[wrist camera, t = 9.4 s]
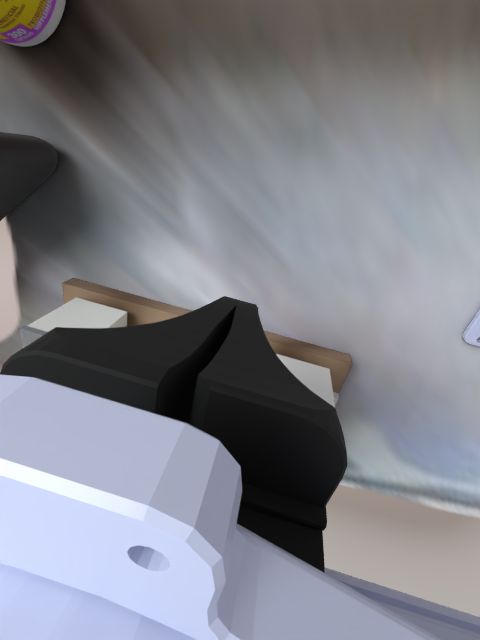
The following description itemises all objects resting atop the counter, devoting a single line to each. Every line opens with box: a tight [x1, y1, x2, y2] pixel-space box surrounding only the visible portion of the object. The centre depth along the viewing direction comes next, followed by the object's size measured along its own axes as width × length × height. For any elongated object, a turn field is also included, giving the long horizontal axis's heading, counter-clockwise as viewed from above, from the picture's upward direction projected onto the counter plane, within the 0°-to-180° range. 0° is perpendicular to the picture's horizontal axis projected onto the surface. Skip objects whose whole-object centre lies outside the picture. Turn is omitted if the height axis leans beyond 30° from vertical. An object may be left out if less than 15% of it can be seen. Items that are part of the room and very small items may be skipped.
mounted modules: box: [20, 297, 335, 407], centre depth 21 cm, size 19×8×5 cm, turn 78°
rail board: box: [62, 278, 352, 406], centre depth 24 cm, size 22×9×2 cm, turn 78°
